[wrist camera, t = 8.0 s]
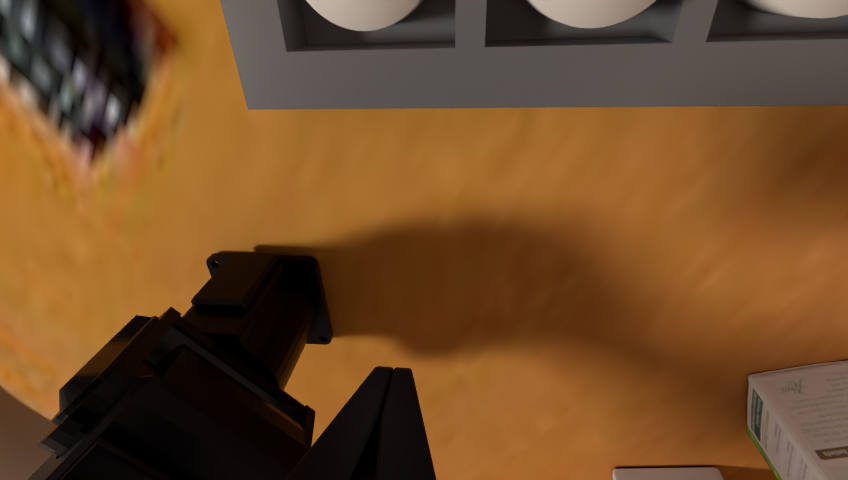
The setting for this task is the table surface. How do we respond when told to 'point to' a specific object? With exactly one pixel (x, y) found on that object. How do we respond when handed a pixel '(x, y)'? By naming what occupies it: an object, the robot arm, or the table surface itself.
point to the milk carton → (667, 474)
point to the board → (537, 57)
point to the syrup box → (801, 420)
